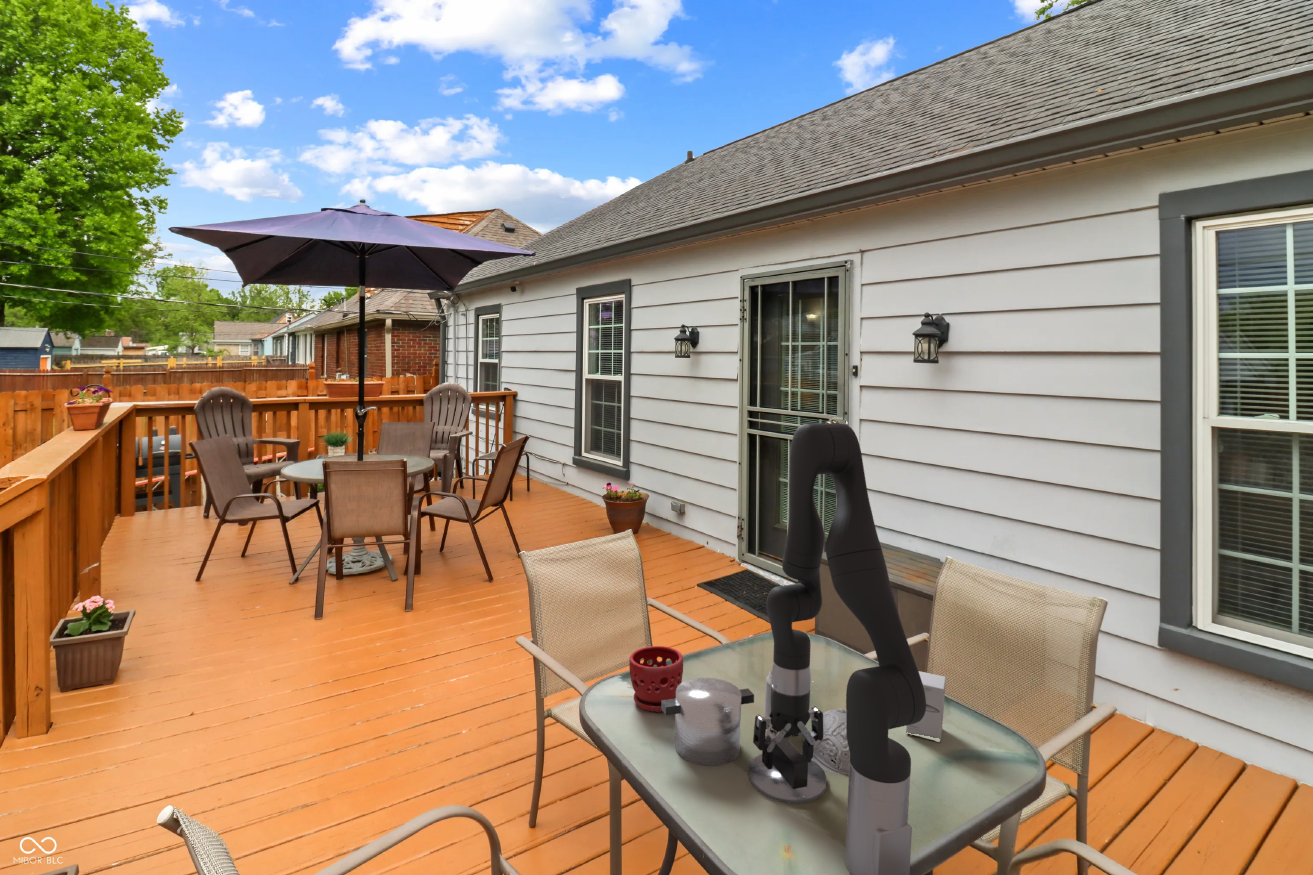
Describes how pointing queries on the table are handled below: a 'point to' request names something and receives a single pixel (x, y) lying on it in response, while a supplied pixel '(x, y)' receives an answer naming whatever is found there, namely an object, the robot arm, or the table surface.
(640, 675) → the plant pot
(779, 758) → the lid
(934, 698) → the supplement box
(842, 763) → the grey oval domed piece
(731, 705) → the cooker
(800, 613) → the robot arm
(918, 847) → the table surface
